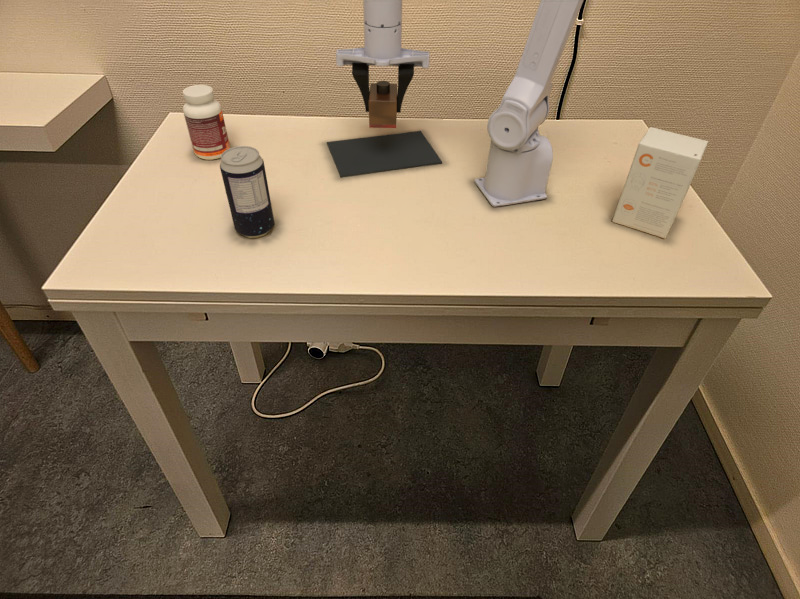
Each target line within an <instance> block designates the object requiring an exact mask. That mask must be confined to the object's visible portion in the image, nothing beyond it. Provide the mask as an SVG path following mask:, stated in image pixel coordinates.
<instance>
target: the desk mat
mask: <svg viewBox="0 0 800 599" xmlns="http://www.w3.org/2000/svg"><path fill="white" fill-rule="evenodd" d="M326 145H327V148H328V150H329V153H330V155H331V158H332V160H333V163H334V165H335V167H336V170H337V172H338V175H339V177H340V178H345V177H353V176H361V175H362V176H363V175H369V174H376V173H381V172H382V173H383V172H391V171H397V170H405V169H412V168H420V167H428V166H434V165H441V164H443V161H442V159H441V158H440V156H439V154H438V153H437V152H436V150H435V149H434V148H433V146H432V145H431V143H430V142H429V141H428V139H427V138H426V136H425V135H424V133H423V131H421V130H417V131H416V130H415V131H407V132H398V133H389V134H381V135H374V136H366V137H357V138H350V139H349V138H348V139H341V140H332V141H326Z"/></svg>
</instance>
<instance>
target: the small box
mask: <svg viewBox="0 0 800 599" xmlns="http://www.w3.org/2000/svg"><path fill="white" fill-rule="evenodd" d="M708 143H709V140H705V139H700V138H697V137H693V136H689V135H685V134H681V133H677V132H673V131H668V130H664V129H660V128H656V127H652V126H650V127H649V128H648V130H646V132H645V134H644V136H642V137H641V140H640V141H639V142H638V144H637V148H636V151H635V153H634V157H633V160H632V162H631V165H630V168H629V171H628V174H627V176H626V180H625V182H624V185H623V188H622V190H621V194H620V196H619V199H618V202H617V205H616V208H615V211H614V213H613V217H612V221H611V222H612V223H615V224H619V225H621V226H623V227H624V226H625V227H627V228H630V229H634V230H637V231H640V232H643V233H646V234H650V235H653V236H655V237H658V238H662V239H666V238H667V237H668V235H669V232H670V230H671V229H672V226H673V224H674V222H675V220H676V218H677V215H678V213H679V211H680V209H681V208H682V205H683V202H684V200H685V198H686V196H687V193H688V192H689V189H690V187H691V184H692V182H693V180H694V177H695V175H696V173H697V170H698V169H699V166H700V163H701V161H702V158H703V157H704V154H705V151H706V149H707V146H708Z"/></svg>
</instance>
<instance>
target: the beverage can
mask: <svg viewBox="0 0 800 599" xmlns="http://www.w3.org/2000/svg"><path fill="white" fill-rule="evenodd" d="M264 162H265V161H264V158H262V156H261V155H260V151H259V150H258V149H257V148H255V147H252V146H248V145H237V146H233V147H230V149H228V150H226V151H224V152H223V153H222V155H221V158H220V163H219V169H220V170H219V171H220V174H221V177H222V182H223V186H224V190H225V194H226V198H227V202H228V206H229V211H230V215H231V219H232V222H233V223H232V224H233V228H234V231H235V232H237V233H238V234H239V235H241V236H243V237H245V238H249V239H258V238H261V237H264V236H265V235H267V234H268V233H269V232H270V231H271V230H272V229H273V228H274V226H275V218H274V217H275V216H274V211H273V207H272V206H273V205H272V200H271V195H270V190H269V184H268V183H269V182H268V178H267V172H266V167H265V163H264Z"/></svg>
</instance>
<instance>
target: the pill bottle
mask: <svg viewBox="0 0 800 599" xmlns="http://www.w3.org/2000/svg"><path fill="white" fill-rule="evenodd" d="M182 96H183V99H184V101H185V103H184V105H183V106H182V112H183V113H182V114H183V116H184V120H185V124H186V127H187V132H188V135H189V139H190V142H191V146H192V149H193V153H194V154H195V156H196V157H197V158H199V159H202V160H207V161H208V160H209V161H211V160H212V161H213V160H217V159H221V155H222V153H223V152H224V151H226V150H228V149H230V148H231V145H230V140H229V135H228V132H227V127H226V122H225V117H224V113H223V107H222V105H221V103H220V101H218V100H216V99H215V93H214V88H212V86H210V85H207V84H194V85H190V86H187V87H185V88H184V89H183V90H182Z"/></svg>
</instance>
